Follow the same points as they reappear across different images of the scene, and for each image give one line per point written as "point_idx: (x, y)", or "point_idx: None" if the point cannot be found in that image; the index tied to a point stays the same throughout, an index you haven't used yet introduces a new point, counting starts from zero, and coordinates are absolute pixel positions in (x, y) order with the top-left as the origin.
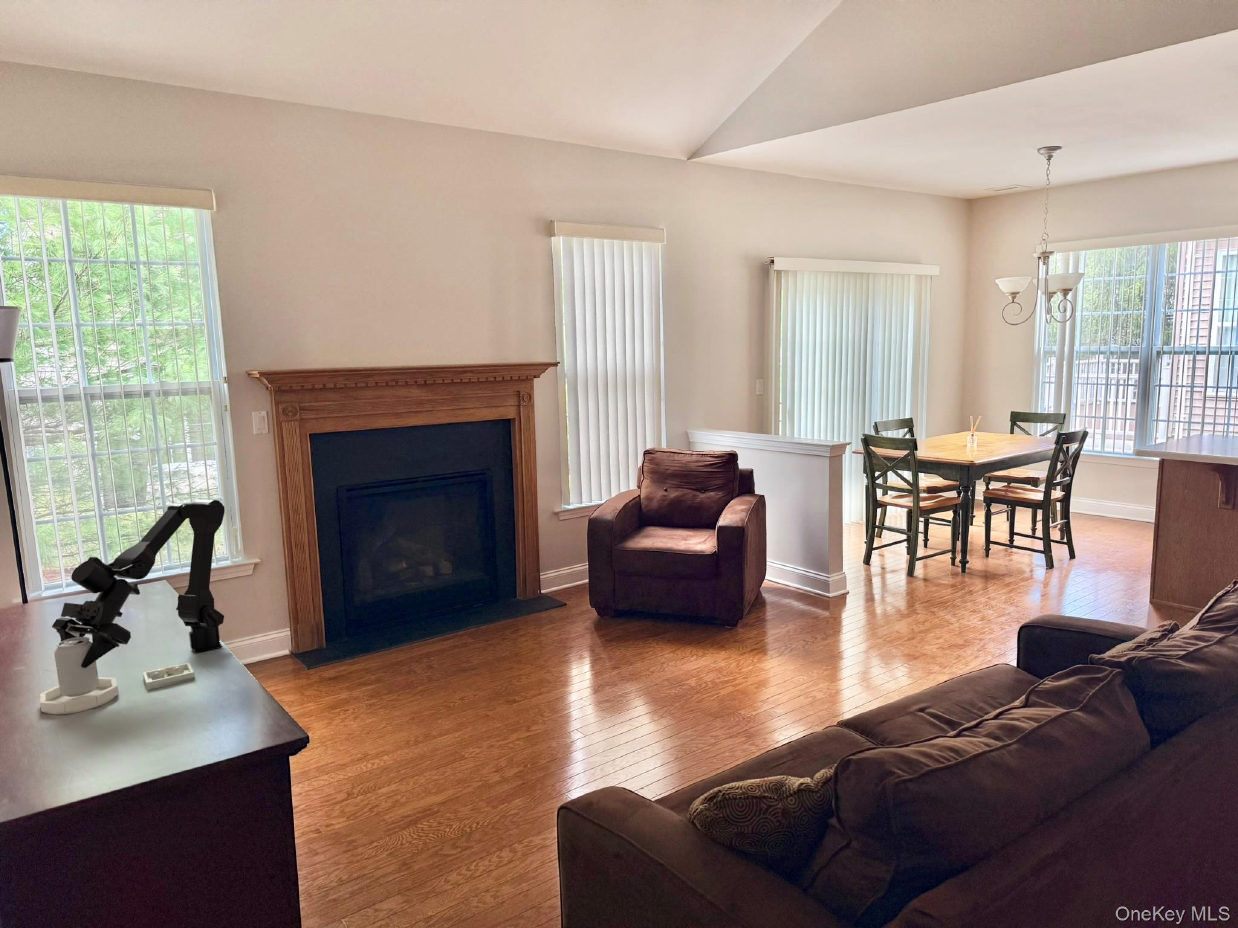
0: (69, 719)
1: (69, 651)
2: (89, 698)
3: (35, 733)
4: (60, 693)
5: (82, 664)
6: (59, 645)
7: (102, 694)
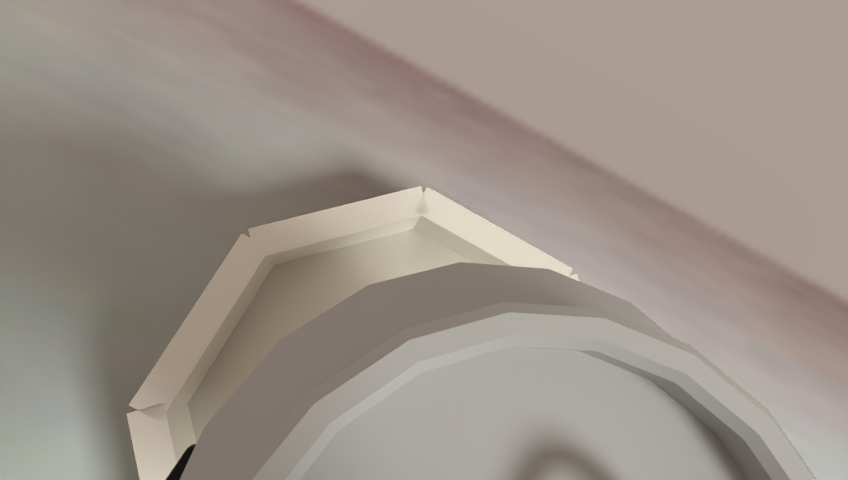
0: (170, 218)
1: (276, 382)
2: (157, 366)
3: (178, 44)
4: None
5: (187, 459)
6: (695, 415)
7: (140, 465)
